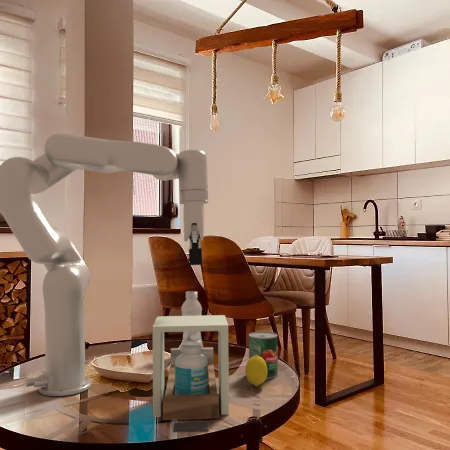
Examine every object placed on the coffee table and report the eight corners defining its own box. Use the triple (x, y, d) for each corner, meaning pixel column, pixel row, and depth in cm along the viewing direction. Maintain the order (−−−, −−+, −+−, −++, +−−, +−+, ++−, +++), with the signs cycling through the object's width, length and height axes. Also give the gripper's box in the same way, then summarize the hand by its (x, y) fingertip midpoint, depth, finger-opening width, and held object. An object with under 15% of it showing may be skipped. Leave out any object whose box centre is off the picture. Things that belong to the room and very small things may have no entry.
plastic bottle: (202, 357, 147) (201, 293, 147) (180, 357, 147) (180, 293, 147) (203, 351, 153) (202, 290, 153) (182, 351, 153) (182, 290, 153)
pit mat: (208, 431, 92) (208, 429, 92) (172, 432, 92) (172, 430, 92) (207, 422, 96) (207, 421, 96) (173, 423, 96) (173, 422, 96)
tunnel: (228, 414, 101) (228, 325, 101) (153, 416, 100) (152, 326, 100) (225, 394, 113) (224, 315, 113) (157, 396, 112) (157, 316, 112)
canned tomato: (252, 369, 133) (252, 330, 133) (279, 371, 131) (279, 332, 131) (246, 378, 126) (245, 337, 126) (275, 380, 123) (274, 338, 124)
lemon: (266, 390, 115) (265, 358, 116) (244, 389, 117) (243, 357, 117) (268, 383, 121) (268, 352, 121) (247, 382, 122) (247, 351, 122)
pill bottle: (195, 414, 101) (194, 351, 101) (168, 407, 105) (167, 347, 105) (214, 403, 107) (213, 344, 108) (188, 397, 111) (187, 340, 111)
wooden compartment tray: (218, 418, 98) (218, 385, 98) (162, 419, 97) (162, 386, 97) (213, 371, 130) (213, 347, 130) (171, 373, 129) (170, 348, 129)
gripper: (180, 200, 131) (182, 261, 131) (177, 196, 113) (180, 266, 113) (207, 199, 131) (209, 260, 131) (208, 195, 114) (211, 265, 114)
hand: (196, 263), depth 122 cm, fingers open, 9 cm apart
